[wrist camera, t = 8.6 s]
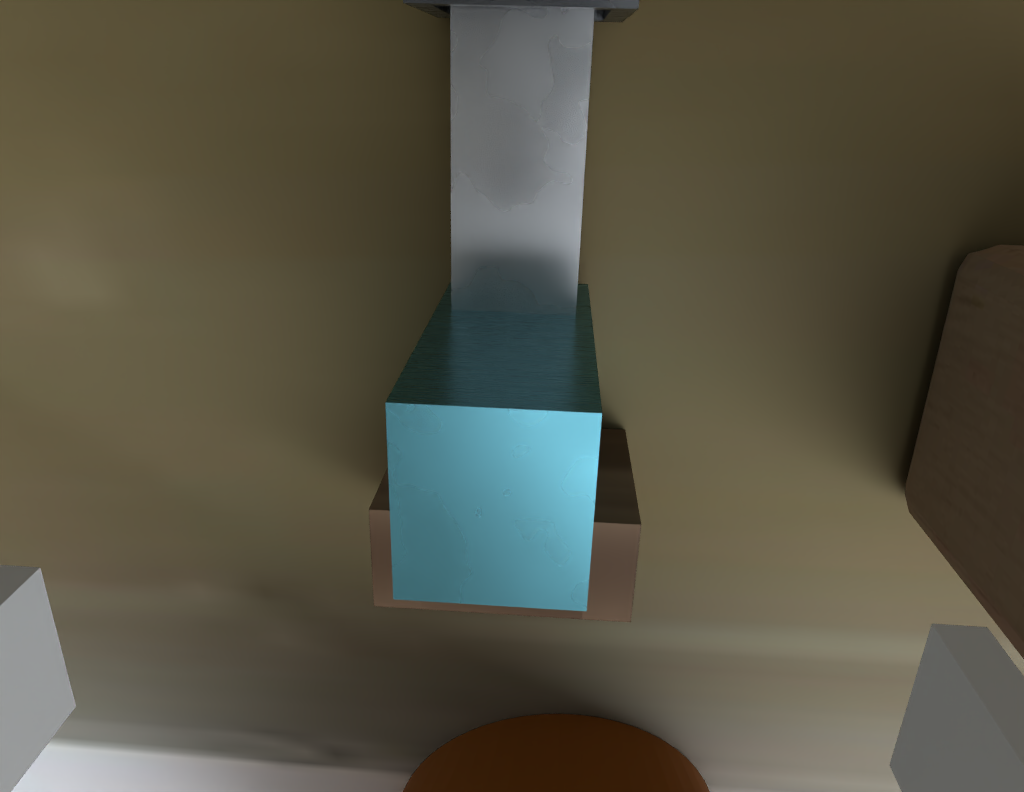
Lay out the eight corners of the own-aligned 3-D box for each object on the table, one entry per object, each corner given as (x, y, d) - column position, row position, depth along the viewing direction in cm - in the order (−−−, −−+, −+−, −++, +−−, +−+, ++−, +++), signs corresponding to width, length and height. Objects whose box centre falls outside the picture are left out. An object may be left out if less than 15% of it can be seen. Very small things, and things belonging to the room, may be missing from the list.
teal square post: (451, -89, 22) (360, -215, 12) (612, -86, 22) (651, -213, 12) (453, 500, 29) (397, 713, 19) (573, 507, 29) (577, 726, 19)
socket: (409, 418, 29) (368, 509, 23) (625, 429, 29) (641, 524, 23) (411, 500, 30) (373, 606, 24) (617, 512, 30) (630, 622, 24)
